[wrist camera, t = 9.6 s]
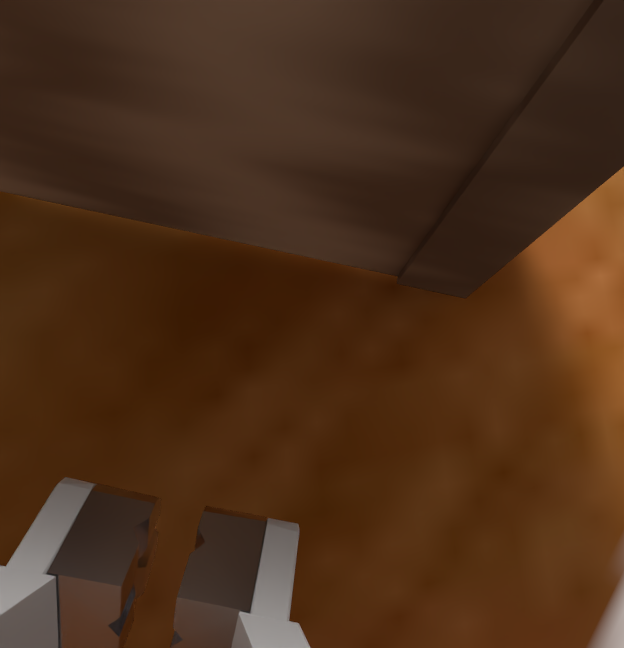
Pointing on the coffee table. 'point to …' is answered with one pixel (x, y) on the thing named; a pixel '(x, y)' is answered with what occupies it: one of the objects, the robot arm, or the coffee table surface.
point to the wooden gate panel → (320, 122)
